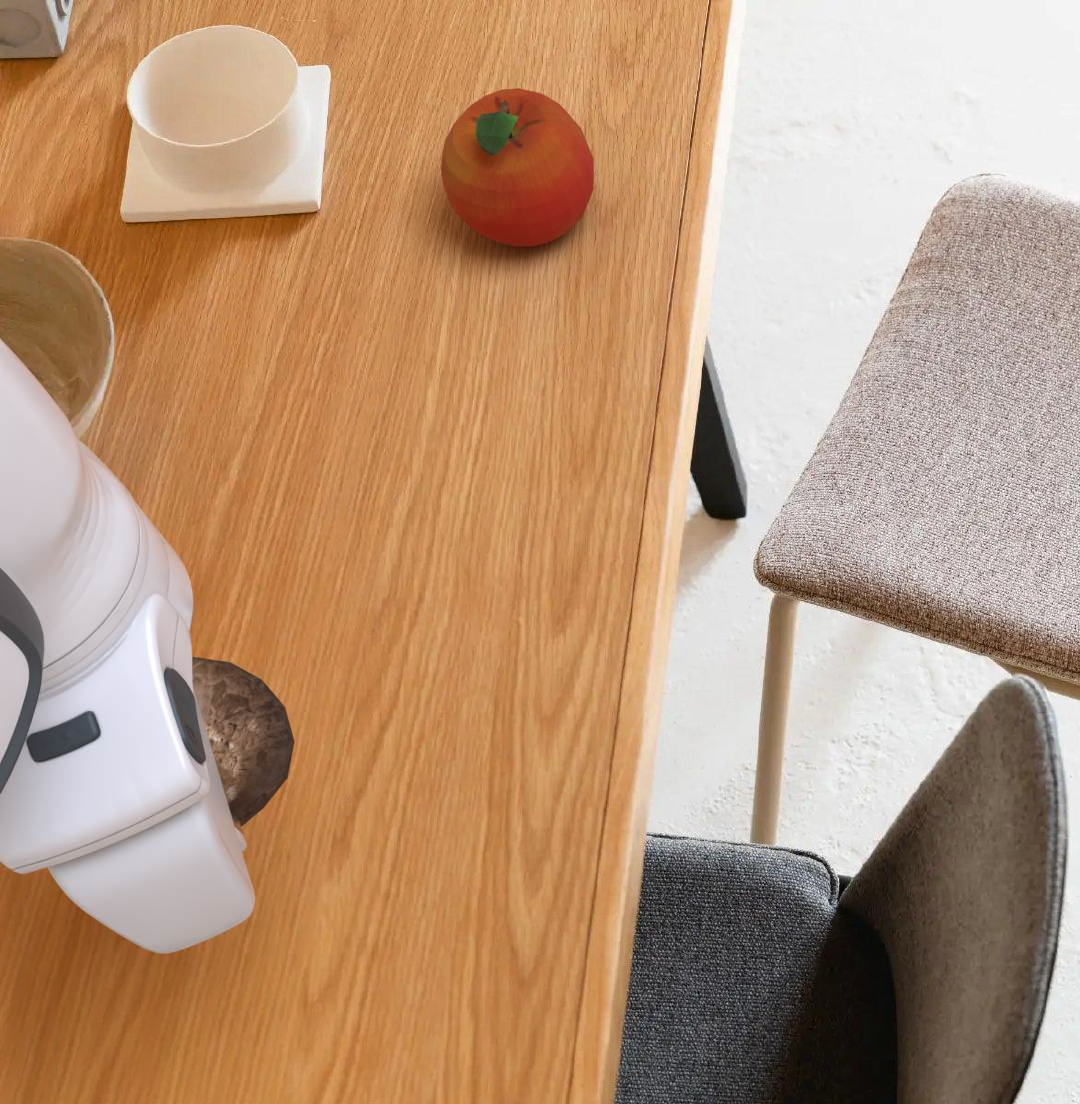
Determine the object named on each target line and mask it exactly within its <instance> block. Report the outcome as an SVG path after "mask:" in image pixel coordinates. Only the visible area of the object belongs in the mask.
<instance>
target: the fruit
mask: <svg viewBox="0 0 1080 1104" xmlns="http://www.w3.org/2000/svg"><path fill="white" fill-rule="evenodd" d="M441 154H442V155H441V163H440V173H441V174H440V175H441V179H442V185H443V188H444V190H445V194H446V196H447V200H448V201H449V204H450V205H451V207H452V209H453V211H454V212H455V213H456V215H457V216H458V217H459V218H460V219H461V220H462V221H463V222H464V223H466V224H467V225H468V227H470V228H471V229H472V230H473V231H474V232H475V233H476V234H478V235H480V236H482V237H484V238H487V239H489V240H491V241H493V242H496V243H499V244H502V245H507V246H511V247H517V248H523V247H536V246H537V247H538V246H541V245H544V244H548V243H551V242H554V241H555V240H556V239H558V238H560V237H562V236H564V235H565V234H566V233H568V232H569V231H570V230H571V229H572V228H573V227H574V226H575V225H576V224H577V223H578V221H580V219H582V217H583V216H584V213H585V212H586V209H587V207H588V205H589V203H590V200H591V197H592V194H593V192H594V185H595V184H594V180H595V171H594V170H595V165H594V162H595V161H594V156H593V154H592V152H591V150H590V147H589V144H588V142H587V139H586V136H585V134H584V132H583V129H582V128H581V126H580V125H579V124H578V123H577V122H576V120H575V119H574V118H573V117H572V116H571V114H570V113H569V112H568V111H567V110H566V109H565V108H564V107H563V106H562V105H561V104H560V102H559V103H558V102H557V101H555V100H554V99H552V98H551V97H549V96H547V95H546V94H545V93H541V92H538V91H534V90H530V89H529V90H528V89H524V88H519V87H516V88H503V89H499V90H496V91H493V92H491V93H488V94H486V95H484V96H482V97H481V98H479V99H478V100H476V101H475V102H473V103H472V104H470V105H469V107H467V108H466V110H465V111H463V113H462V114H461V115H460V116H459V117H458V118H457V119H456V120H455V122H454V123H453V124H452V126H451V128H450V129H449V132H448V134H447V135H446V138H445V140H444V144H443V149H442V153H441Z"/></svg>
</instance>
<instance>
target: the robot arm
mask: <svg viewBox="0 0 1080 1104" xmlns="http://www.w3.org/2000/svg"><path fill="white" fill-rule="evenodd" d="M193 615H194V592H193V587H192V582H191V578H190V576H189V573H188V571H187V568H186V567H185V564H184V563H183V560H182V559H181V557H180V556H179V555H178V553H177V552H176V551H175V549H174V548H173V547H172V545H171V544H170V543H169V542H168V541H167V539H166V538H165V537H164V536H163V534H162V533H161V532H160V531H159V530H158V528H157V527H156V526H155V525H154V523H153V522H152V521H151V519H150V518H149V517H148V516H147V514H146V513H145V512H144V511H143V509H142V508H141V507H140V506H139V504H138V502H137V501H136V500H135V499H134V497H133V495H132V494H131V492H130V491H129V489H128V488H127V487H126V486H125V484H124V483H123V482H122V481H121V480H120V479H119V478H118V477H117V476H116V475H115V473H114V472H113V471H112V470H111V469H110V467H108V465H106V464H105V463H104V462H103V461H102V460H101V459H100V458H99V456H98V455H96V454H95V453H94V451H93V450H92V449H91V448H90V447H88V446H87V445H86V444H85V443H84V442H82V441H81V440H80V439H78V438H77V435H76V433H75V430H74V428H73V426H72V424H71V422H70V420H69V419H68V417H67V416H66V414H65V413H64V412H63V410H62V409H61V407H60V406H59V405H58V404H57V403H56V401H55V400H54V398H53V397H52V396H51V395H50V393H49V392H48V391H47V390H46V388H45V387H44V386H43V385H42V383H41V382H40V381H39V380H38V379H37V377H35V375H34V373H32V371H30V369H29V368H28V367H27V366H26V364H25V363H23V362H22V360H21V359H20V358H19V357H18V356H17V355H16V354H15V352H14V351H13V350H12V349H11V348H10V347H9V346H8V345H7V344H6V342H5V341H4V340H2V338H0V863H1V864H2V865H3V866H4V867H6V868H7V869H9V870H11V871H12V872H14V873H16V874H19V875H27V874H30V873H34V872H37V871H40V870H43V869H47V870H48V871H49V873H50V875H51V877H52V878H53V880H54V881H55V883H56V884H57V885H58V886H59V888H60V889H61V890H62V891H63V893H64V894H65V895H66V896H67V898H69V899H70V900H71V902H73V903H74V904H75V905H76V906H77V907H78V908H79V909H80V910H82V911H83V912H85V914H87V915H89V916H90V917H92V918H93V919H95V920H96V921H97V922H99V924H101V925H103V926H104V927H107V928H108V929H110V930H111V931H112V932H114V933H115V934H117V935H119V936H121V937H122V938H124V939H126V940H128V941H130V942H131V943H133V944H135V945H136V946H139V947H140V948H142V949H144V950H146V951H148V952H149V951H150V952H152V953H156V954H161V955H162V954H165V955H166V954H171V953H175V952H179V951H183V950H185V949H189V948H190V947H193V946H196V945H198V944H201V943H203V942H205V941H208V940H210V939H212V938H213V939H214V938H215V937H218V936H220V935H221V934H223V933H225V932H227V931H229V930H231V929H233V928H235V927H236V926H239V925H240V924H241V923H243V922H244V921H246V920H248V918H250V916H251V915H252V914H253V912H254V909H255V906H256V899H257V897H256V894H255V889H254V886H253V883H252V880H251V877H250V874H249V870H248V867H247V863H246V861H245V858H244V857H245V856H244V853H243V852H244V851H245V850H246V849H247V847H248V845H247V841H246V839H245V838H246V837H245V836H244V835H245V834H244V831H243V829H242V827H241V825H240V822H239V818H238V816H237V814H236V813H233V812H232V810H231V809H230V808H229V806H228V802H227V799H226V796H225V792H224V789H223V785H222V782H221V779H220V775H219V772H218V768H217V765H216V762H215V758H214V755H213V752H212V748H211V745H210V741H209V738H208V735H207V731H206V728H205V724H204V721H203V718H202V714H201V711H200V707H199V704H198V701H197V697H196V694H195V691H194V687H193V681H192V657H193V644H192V638H191V634H190V633H191V632H190V630H191V626H192V621H193V617H194V616H193Z"/></svg>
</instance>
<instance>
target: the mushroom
mask: <svg viewBox="0 0 1080 1104" xmlns="http://www.w3.org/2000/svg"><path fill="white" fill-rule="evenodd" d="M192 681H193V687H194V691H195V694H196V697H197V701H198V704H199V707H200V711H201V714H202V718H203V721H204V724H205V728H206V731H207V735H208V738H209V741H210V745H211V748H212V752H213V755H214V758H215V762H216V765H217V768H218V772H219V775H220V779H221V782H222V785H223V789H224V792H225V796H226V799H227V802H228V806H229V808H230V809H231V810H232V812H233V813H236V814H237V816H238V818H239V822H240V825H241V828H242V827H243V826H244V825H246V824H247V823H248V822H249V821H250V820H252V819H253V818H254V817H255V816H256V815H258V814H259V813H260V812H261V811H262V810H263V809H265V808H266V806H267V805H268V803H269V802H270V801H271V800H272V798H273V797H274V796H275V795H276V793H278V791H279V790H280V789H281V787H282V786H283V785H284V784H285V782H286V781H287V780H288V779H289V774H290V768H291V763H292V758H293V753H294V747H295V742H296V741H295V738H294V735H293V730H292V726H291V723H290V719H289V715H288V712H287V708H286V706H285V705H284V704H283V702H282V701H281V700H280V699H279V698H278V696H277V695H276V694H275V693H274V692H273V691H272V689H270V687H269V686H268V685H267V683H266V682H265V681H264V680H263V679H262V678H260V677H258V676H256V675H254V674H253V673H251V672H249V671H247V670H246V669H244V668H242V667H240V666H238V665H236V664H234V663H233V662H231V661H225V660H218V659H210V658H206V657H205V658H203V657H196V656H192Z"/></svg>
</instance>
